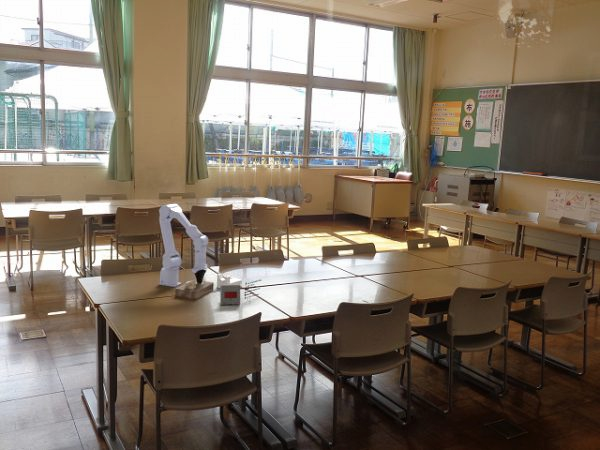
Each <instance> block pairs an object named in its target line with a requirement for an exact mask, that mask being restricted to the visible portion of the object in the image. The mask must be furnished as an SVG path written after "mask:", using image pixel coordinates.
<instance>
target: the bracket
mask: <svg viewBox="0 0 600 450" xmlns="http://www.w3.org/2000/svg"><path fill="white" fill-rule="evenodd" d="M216 278H217V279H216V288H217V287H218V289H220V285H236V284H240V286H241V285H242V284H243V280H242V279H240V278H236V277H231V275H227V276H226V277H225V278H224V277H223V274H222V273H218V274H217V275H216Z"/></svg>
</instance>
